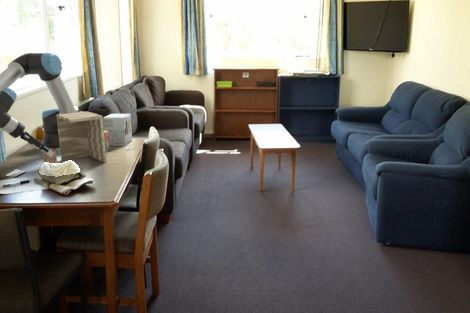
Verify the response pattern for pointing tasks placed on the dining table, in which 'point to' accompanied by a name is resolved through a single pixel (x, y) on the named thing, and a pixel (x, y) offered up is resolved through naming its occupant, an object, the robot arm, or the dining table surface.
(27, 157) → the dining table surface
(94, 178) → the dining table surface
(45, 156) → the terracotta block
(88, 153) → the open side box
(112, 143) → the supplement box
